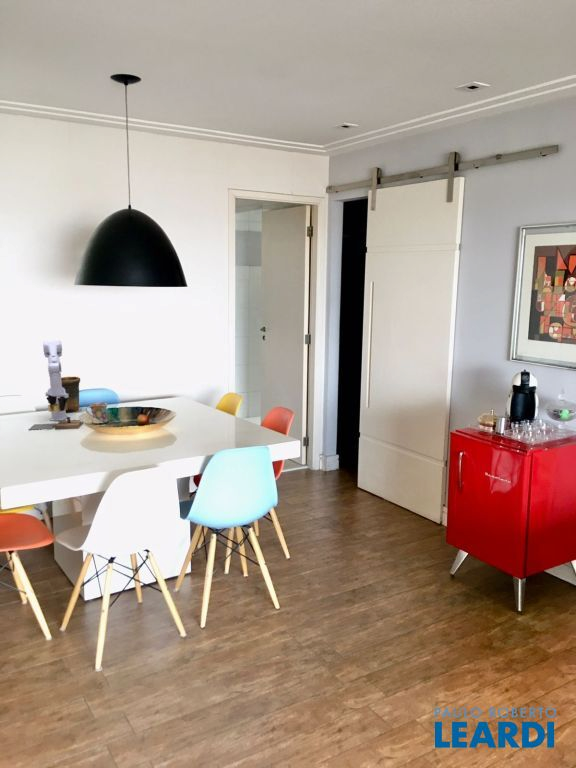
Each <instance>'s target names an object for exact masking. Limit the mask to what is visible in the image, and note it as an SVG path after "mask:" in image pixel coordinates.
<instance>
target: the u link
mask: <svg viewBox="0 0 576 768" xmlns="http://www.w3.org/2000/svg"><path fill="white" fill-rule="evenodd" d="M47 407H48V412H49V413H51V412H52V411H54V412H56V413H57V412H60V411H61V410H60V405H59V403H55V404H51V405H50V404H48V405H47ZM64 410H68V408H67V403H66V404H65V409H64ZM64 410H63V411H64Z"/></svg>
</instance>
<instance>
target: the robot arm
mask: <svg viewBox="0 0 576 768" xmlns="http://www.w3.org/2000/svg"><path fill="white" fill-rule="evenodd" d="M62 344H63V343H62V341H61V340H57V341H56V340H55V341H54V340H53V341H43V342H42V346H43V355H44V357H45V358H47V360H48V364H47V370H48V371H47V372H48V376H49V383H50V384H49V385H50V386H49V389H47V391H46V392H45V397H46V400H47V404H48V405H51V404H55V403H59V405H60V410H61V411H60V412H57V413H56V412H54V411H52V412H50V413H51V418H50V419H49V421H50V422H52V421H66V420H67V417H69V416H68V415H67V414H66V410H64V409H65V404H66V401H67V399H68V397H69V396H68V394H66V392H65V389H64V388H63V387H62V382H61V378H62V374H61V373H62V364H61V361H60V360H61V359H60V357H62V356H63V345H62ZM63 410H64V411H63Z"/></svg>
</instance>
